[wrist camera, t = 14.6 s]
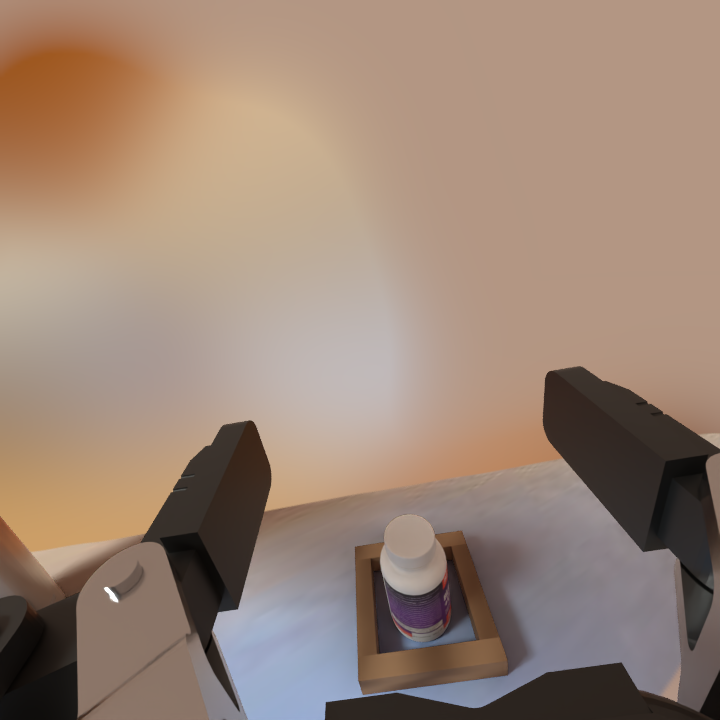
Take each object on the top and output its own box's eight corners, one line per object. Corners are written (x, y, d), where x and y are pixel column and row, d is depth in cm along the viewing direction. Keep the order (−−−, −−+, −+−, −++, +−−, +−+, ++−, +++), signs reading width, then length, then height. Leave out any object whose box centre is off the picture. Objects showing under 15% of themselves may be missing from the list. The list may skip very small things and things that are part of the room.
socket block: (362, 694, 26) (358, 681, 26) (358, 559, 36) (355, 546, 36) (507, 675, 26) (507, 660, 25) (462, 543, 36) (461, 530, 35)
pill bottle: (462, 632, 29) (456, 555, 25) (401, 653, 28) (384, 577, 24) (437, 572, 34) (428, 499, 30) (384, 589, 33) (368, 516, 29)
